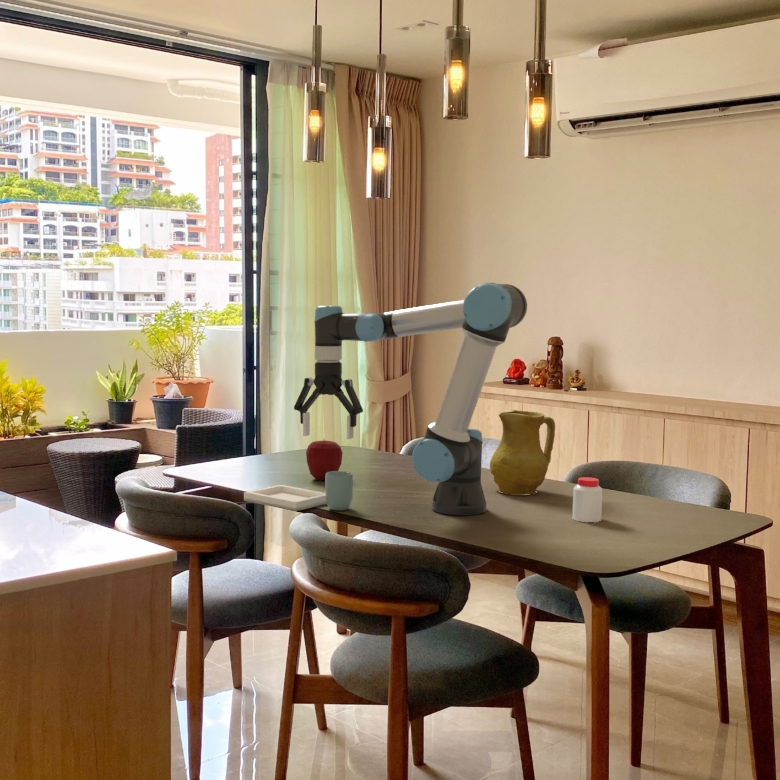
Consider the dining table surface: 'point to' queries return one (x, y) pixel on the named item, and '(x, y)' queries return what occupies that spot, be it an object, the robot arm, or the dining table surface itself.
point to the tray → (286, 497)
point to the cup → (339, 489)
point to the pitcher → (522, 452)
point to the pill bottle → (587, 500)
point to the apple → (323, 458)
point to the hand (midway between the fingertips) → (328, 437)
